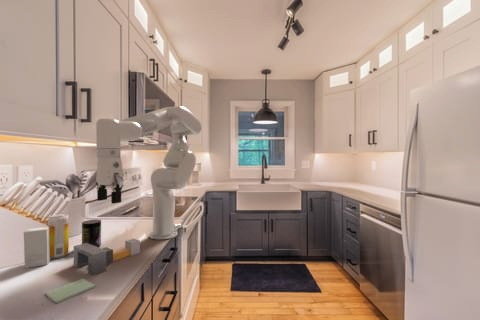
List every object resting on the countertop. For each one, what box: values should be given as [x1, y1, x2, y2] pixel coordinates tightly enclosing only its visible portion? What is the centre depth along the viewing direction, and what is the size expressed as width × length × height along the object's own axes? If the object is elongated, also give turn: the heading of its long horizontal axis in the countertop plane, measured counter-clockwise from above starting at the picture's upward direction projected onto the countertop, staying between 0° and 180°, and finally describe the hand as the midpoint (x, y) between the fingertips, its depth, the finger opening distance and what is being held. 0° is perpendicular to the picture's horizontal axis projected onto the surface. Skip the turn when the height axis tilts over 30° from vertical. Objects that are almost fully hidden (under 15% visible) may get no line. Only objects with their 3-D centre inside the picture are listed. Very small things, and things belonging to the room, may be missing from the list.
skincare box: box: [23, 226, 51, 269], centre depth 80 cm, size 6×4×12 cm
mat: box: [44, 278, 96, 304], centre depth 64 cm, size 9×7×1 cm
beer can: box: [47, 212, 70, 260], centre depth 87 cm, size 6×6×15 cm
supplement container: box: [81, 219, 102, 248], centre depth 96 cm, size 7×7×10 cm
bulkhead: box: [72, 243, 107, 276], centre depth 78 cm, size 4×13×6 cm, turn 57°
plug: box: [101, 238, 141, 266], centre depth 86 cm, size 14×4×5 cm, turn 147°
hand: (109, 201), depth 85 cm, fingers open, 9 cm apart
